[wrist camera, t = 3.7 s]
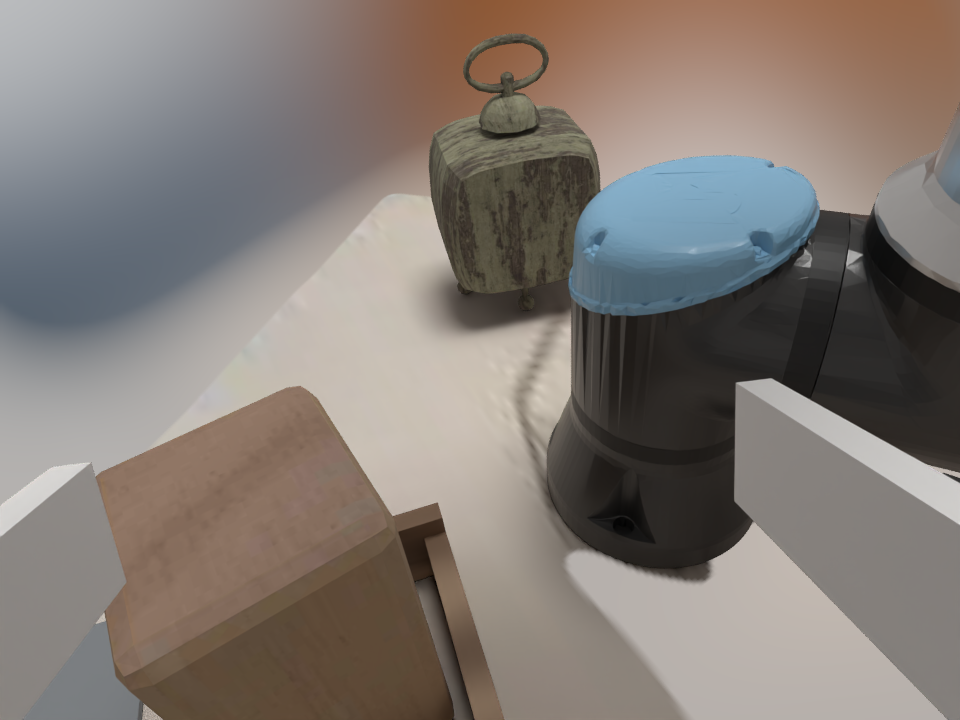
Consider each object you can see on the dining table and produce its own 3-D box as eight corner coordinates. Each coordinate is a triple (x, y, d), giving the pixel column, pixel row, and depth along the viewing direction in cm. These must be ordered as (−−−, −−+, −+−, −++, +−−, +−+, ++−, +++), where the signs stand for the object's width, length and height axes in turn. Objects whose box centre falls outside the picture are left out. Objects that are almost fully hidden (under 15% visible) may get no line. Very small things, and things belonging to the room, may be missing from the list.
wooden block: (241, 675, 39) (70, 474, 25) (386, 587, 42) (303, 370, 29) (296, 844, 32) (104, 691, 19) (463, 723, 35) (401, 522, 22)
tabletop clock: (574, 261, 69) (576, 8, 52) (603, 309, 62) (616, 36, 45) (445, 287, 67) (405, 36, 51) (461, 339, 61) (421, 69, 44)
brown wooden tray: (208, 632, 41) (169, 586, 37) (449, 553, 43) (437, 502, 39) (200, 1000, 28) (139, 991, 24) (542, 856, 31) (539, 825, 27)
